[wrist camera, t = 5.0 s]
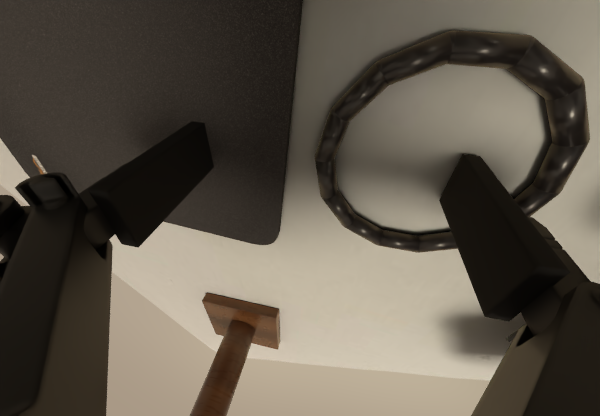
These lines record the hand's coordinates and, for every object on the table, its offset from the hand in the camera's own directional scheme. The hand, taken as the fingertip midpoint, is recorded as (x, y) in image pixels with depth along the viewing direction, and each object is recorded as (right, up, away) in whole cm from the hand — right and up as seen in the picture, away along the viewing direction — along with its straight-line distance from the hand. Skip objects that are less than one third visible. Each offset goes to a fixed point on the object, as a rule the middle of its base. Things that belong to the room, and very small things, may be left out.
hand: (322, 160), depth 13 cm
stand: (-7, -15, +15) cm, 23 cm away
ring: (+5, -1, -1) cm, 5 cm away
